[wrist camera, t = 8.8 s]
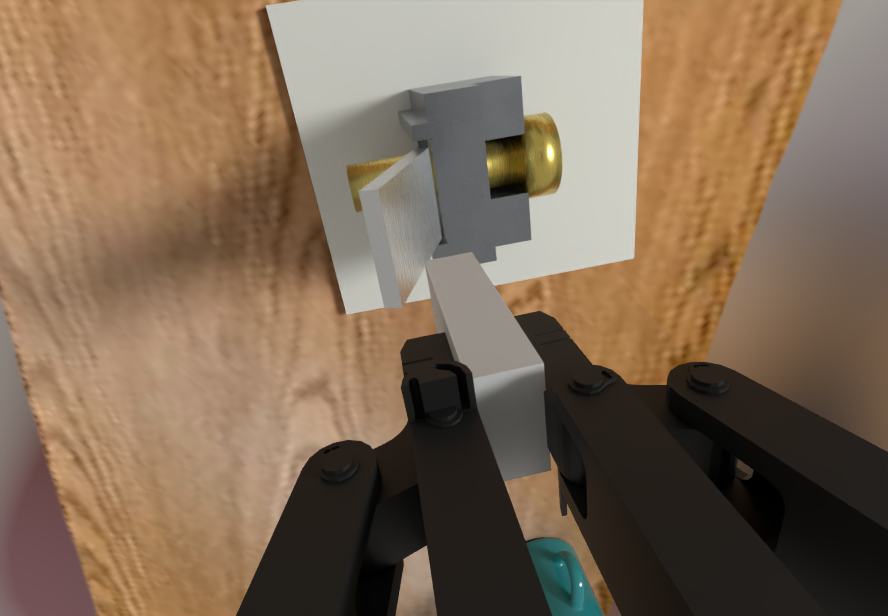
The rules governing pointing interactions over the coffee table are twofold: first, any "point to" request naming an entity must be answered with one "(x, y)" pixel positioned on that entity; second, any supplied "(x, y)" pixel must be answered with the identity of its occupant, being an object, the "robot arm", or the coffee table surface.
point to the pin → (496, 161)
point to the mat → (455, 59)
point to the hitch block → (470, 161)
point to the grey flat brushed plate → (402, 224)
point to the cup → (563, 578)
